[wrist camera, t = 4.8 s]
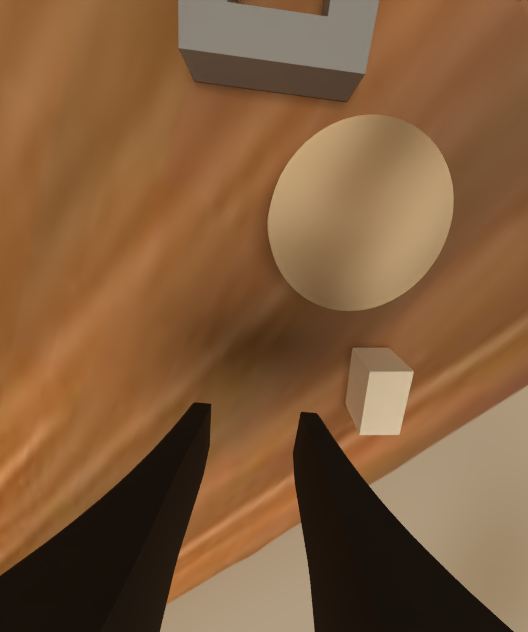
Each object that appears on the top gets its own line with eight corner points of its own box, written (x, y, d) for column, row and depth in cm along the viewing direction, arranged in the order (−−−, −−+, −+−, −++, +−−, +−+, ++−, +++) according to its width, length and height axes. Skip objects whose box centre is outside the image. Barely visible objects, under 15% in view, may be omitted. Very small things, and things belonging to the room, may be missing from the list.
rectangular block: (388, 346, 18) (414, 371, 15) (378, 402, 19) (399, 435, 16) (352, 346, 18) (369, 371, 15) (344, 402, 19) (359, 434, 16)
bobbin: (400, 165, 14) (484, 128, 9) (368, 288, 16) (418, 318, 11) (275, 149, 14) (281, 101, 8) (261, 276, 16) (259, 301, 11)
